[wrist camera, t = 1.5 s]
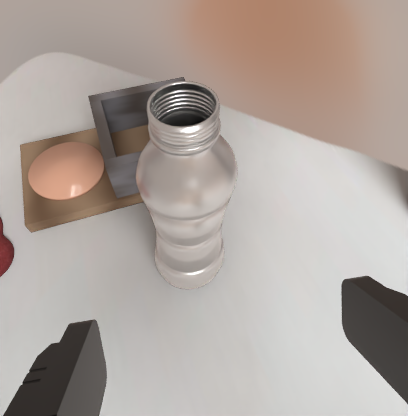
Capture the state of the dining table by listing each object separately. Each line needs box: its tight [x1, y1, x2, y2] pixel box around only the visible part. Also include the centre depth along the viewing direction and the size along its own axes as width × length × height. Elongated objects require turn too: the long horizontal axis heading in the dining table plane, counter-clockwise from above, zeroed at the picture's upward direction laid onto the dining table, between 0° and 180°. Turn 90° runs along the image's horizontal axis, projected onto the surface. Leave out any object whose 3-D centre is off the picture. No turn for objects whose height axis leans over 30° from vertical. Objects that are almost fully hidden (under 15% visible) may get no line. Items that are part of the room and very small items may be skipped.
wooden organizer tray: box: [20, 77, 185, 232], centre depth 37 cm, size 21×12×6 cm, turn 109°
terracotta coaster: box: [28, 142, 105, 201], centre depth 37 cm, size 8×8×1 cm
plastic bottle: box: [136, 81, 238, 289], centre depth 24 cm, size 6×7×20 cm
